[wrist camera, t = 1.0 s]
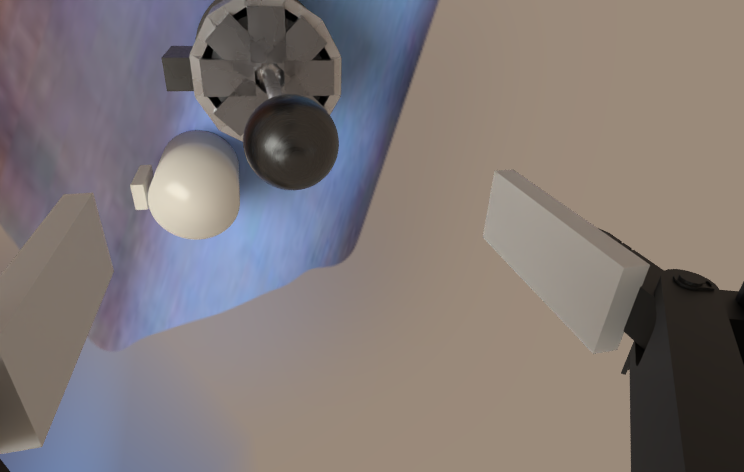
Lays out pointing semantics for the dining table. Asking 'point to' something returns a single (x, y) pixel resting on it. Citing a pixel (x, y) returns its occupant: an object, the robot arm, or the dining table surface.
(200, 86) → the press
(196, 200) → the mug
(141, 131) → the dining table surface
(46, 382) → the robot arm
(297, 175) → the plunger
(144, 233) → the dining table surface
